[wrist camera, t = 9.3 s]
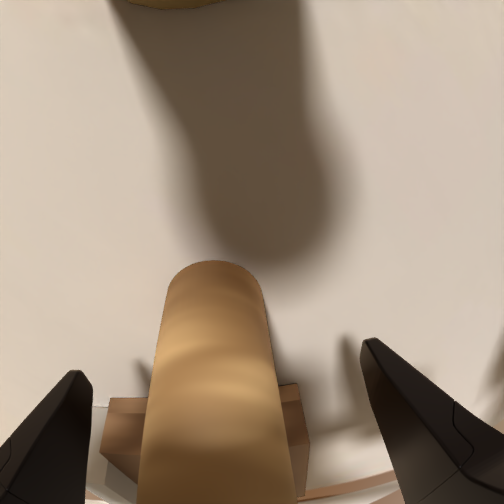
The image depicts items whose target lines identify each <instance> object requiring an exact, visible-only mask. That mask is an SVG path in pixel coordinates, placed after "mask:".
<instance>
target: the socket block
mask: <svg viewBox="0 0 504 504" xmlns="http://www.w3.org/2000/svg"><path fill="white" fill-rule="evenodd" d="M278 389H279V395H280V401H281V407H282V413H283V419H284V424H285V430H286V436H287V442H288V448H289V454H290V460H291V466H292V472H293V478H294V484H295V490H296V495H297V497H302V496H305V488H306V479H307V469H308V459H309V448H310V441H309V437H308V432H307V427H306V423H305V418H304V413H303V409H302V404H301V400H300V395H299V391H298V386H297V384H291V385H285V386H278ZM147 403H148V398H110V402H109V407H108V411H107V416H106V421H105V425H104V430H103V435H102V440H101V445H100V450H99V453H100V454H101V455H102V456H104V457H105V458H106V459H107V460H108V461H109V462H110V463H112V464H113V465H114V466H115V467H116V468H117V469H119V470H120V471H121V472H122V473H123V474H125V475H126V476H127V477H128V478H130V479H131V480H132V481H133V482H135V483H136V484H137V485H138V477H139V467H140V457H141V448H142V440H143V432H144V424H145V417H146V410H147Z"/></svg>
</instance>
